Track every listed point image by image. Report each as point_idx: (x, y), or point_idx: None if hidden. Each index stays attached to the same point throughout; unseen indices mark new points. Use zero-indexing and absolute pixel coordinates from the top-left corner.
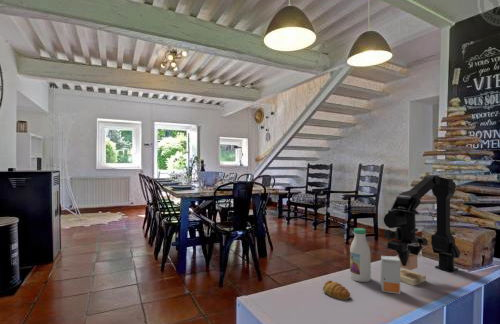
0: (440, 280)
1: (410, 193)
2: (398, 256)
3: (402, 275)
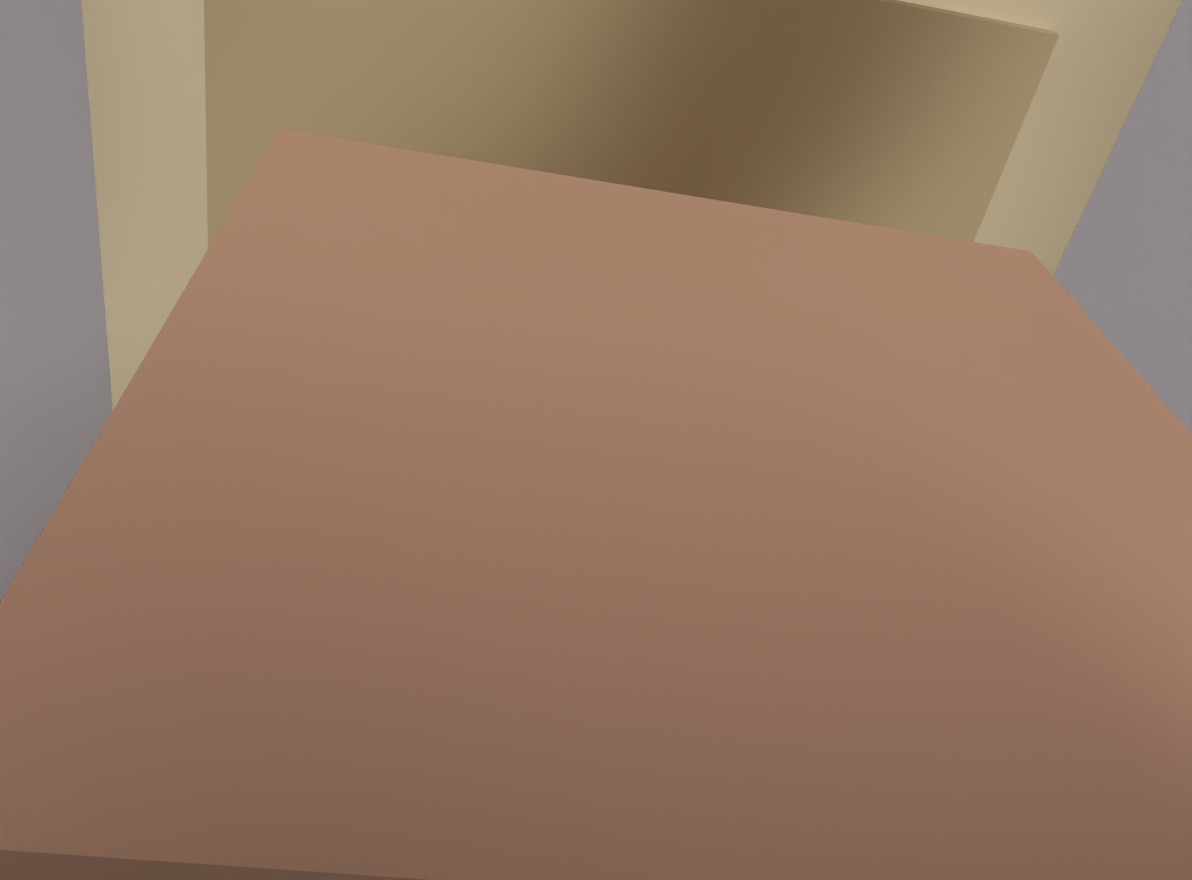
0: None
1: None
2: (37, 622)
3: None
